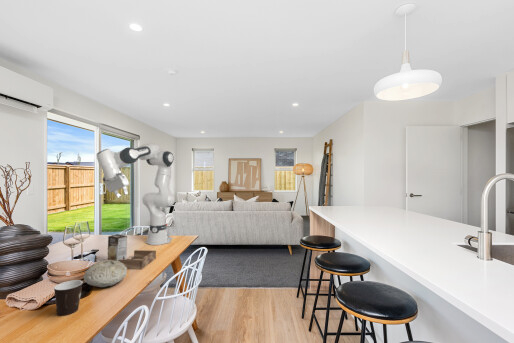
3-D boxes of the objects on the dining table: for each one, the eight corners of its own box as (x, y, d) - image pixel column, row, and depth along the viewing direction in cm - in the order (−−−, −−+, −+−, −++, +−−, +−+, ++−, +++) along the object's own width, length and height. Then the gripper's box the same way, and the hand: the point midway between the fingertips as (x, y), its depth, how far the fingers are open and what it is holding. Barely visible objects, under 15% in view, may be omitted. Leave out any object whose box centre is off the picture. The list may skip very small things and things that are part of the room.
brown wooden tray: (125, 259, 156) (125, 250, 156) (155, 260, 155) (155, 250, 155) (107, 270, 137) (107, 259, 137) (141, 271, 137) (141, 260, 137)
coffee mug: (63, 305, 98) (64, 280, 98) (86, 305, 98) (87, 279, 99) (40, 323, 86) (41, 294, 86) (66, 322, 87) (67, 293, 87)
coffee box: (106, 263, 145) (107, 236, 146) (116, 260, 151) (117, 233, 152) (117, 265, 142) (117, 237, 142) (127, 262, 147) (127, 235, 148)
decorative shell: (135, 278, 125) (135, 258, 125) (105, 294, 107) (106, 271, 108) (106, 274, 129) (106, 255, 129) (73, 289, 112) (74, 267, 112)
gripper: (126, 169, 147) (135, 190, 149) (111, 177, 159) (120, 196, 161) (116, 172, 142) (126, 194, 144) (101, 180, 154) (110, 200, 155)
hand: (122, 195), depth 152 cm, fingers open, 8 cm apart
